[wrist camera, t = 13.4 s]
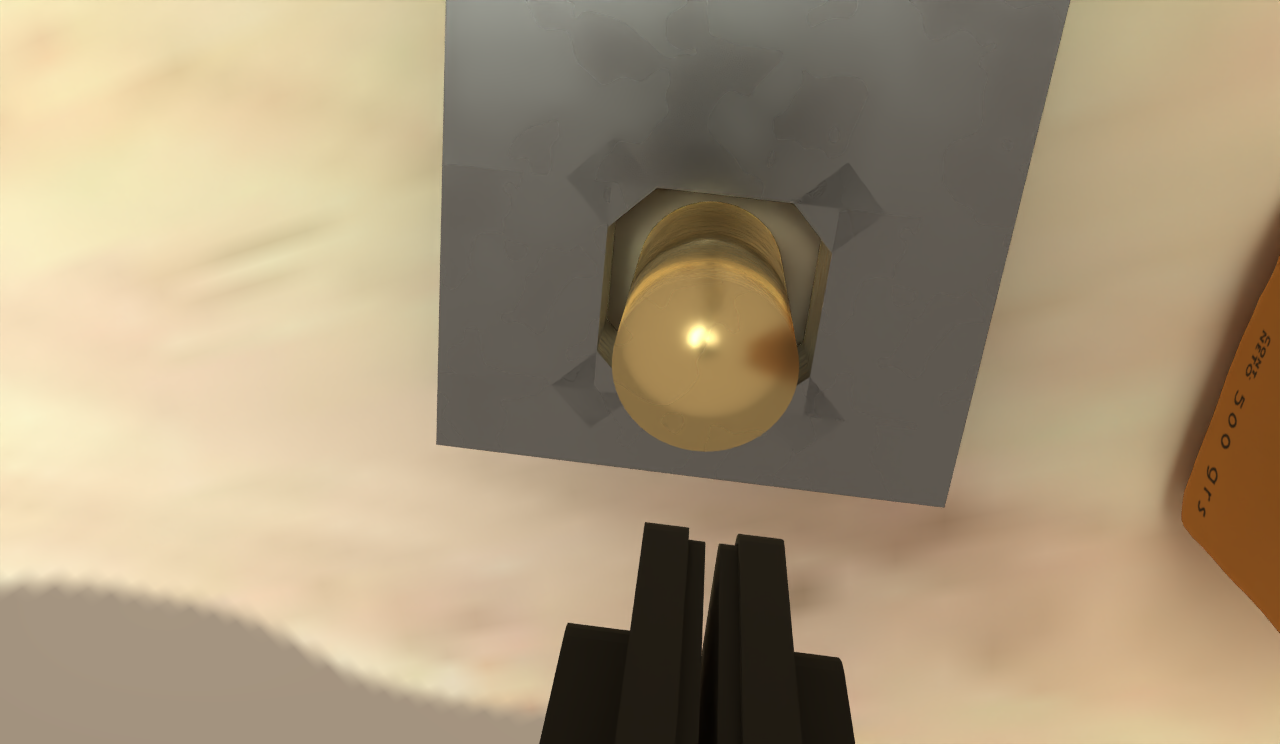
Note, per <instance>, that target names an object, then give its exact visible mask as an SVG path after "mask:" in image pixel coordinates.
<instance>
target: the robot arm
mask: <svg viewBox="0 0 1280 744" xmlns="http://www.w3.org/2000/svg"><path fill="white" fill-rule="evenodd" d="M688 539H689V528H687V527H679V526H671V525H663V524H655V523H647V522H645V526H644V533H643V540H642V547H641V555H640V562H639V569H638V577H637V584H636V591H635V599H634V606H633V613H632V621H631V628H630V631H627V630H619V629H612V628H604V627H596V626H588V625H581V624H573V623H568V624H567V626H566V630H565V634H564V638H563V642H562V646H561V651H560V655H559V660H558V664H557V668H556V673H555V677H554V682H553V686H552V690H551V695H550V699H549V704H548V708H547V712H546V717H545V721H544V726H543V730H542V734H541V739H540V743H539V744H855V739H854V733H853V726H852V720H851V713H850V707H849V700H848V694H847V687H846V681H845V674H844V669H843V665H842V661H841V660H840V659H839V658H837V657H830V656H822V655H814V654H806V653H799V652H794V647H793V636H792V625H791V613H790V602H789V591H788V580H787V569H786V558H785V546H784V541H783V540H782V539H775V538H767V537H759V536H751V535H743V534H738V535H737V539H736V543H735V546H734V545H726V544H719V546H718V551H717V558H716V564H715V571H714V577H713V584H712V590H711V597H710V603H709V610H708V616H707V623H706V630H705V636H704V643H703V649H702V626H703V598H704V570H705V542H702V541H694V540H688ZM701 654H702V656H701Z"/></svg>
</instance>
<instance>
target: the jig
mask: <svg viewBox="0 0 1280 744" xmlns="http://www.w3.org/2000/svg"><path fill="white" fill-rule="evenodd" d="M1069 3H1070V0H446V22H445V69H444V115H443V162H442V208H441V255H440V301H439V348H438V394H437V441H436V444H437V445H445V446H453V447H461V448H469V449H477V450H485V451H493V452H501V453H509V454H517V455H525V456H533V457H541V458H549V459H557V460H566V461H574V462H582V463H590V464H598V465H606V466H614V467H622V468H630V469H638V470H646V471H654V472H662V473H670V474H678V475H686V476H694V477H702V478H710V479H718V480H726V481H734V482H742V483H751V484H759V485H767V486H775V487H783V488H791V489H799V490H807V491H815V492H823V493H831V494H839V495H847V496H855V497H863V498H871V499H879V500H887V501H895V502H903V503H911V504H919V505H927V506H936V507H945V503H946V499H947V495H948V491H949V487H950V483H951V479H952V475H953V471H954V467H955V463H956V459H957V455H958V451H959V447H960V443H961V439H962V435H963V431H964V427H965V423H966V419H967V415H968V410H969V406H970V402H971V398H972V394H973V390H974V386H975V382H976V378H977V374H978V370H979V366H980V362H981V358H982V354H983V350H984V346H985V342H986V338H987V334H988V330H989V326H990V322H991V318H992V314H993V310H994V306H995V302H996V298H997V294H998V290H999V286H1000V281H1001V277H1002V273H1003V269H1004V265H1005V261H1006V257H1007V253H1008V249H1009V245H1010V241H1011V237H1012V233H1013V229H1014V225H1015V221H1016V217H1017V213H1018V209H1019V205H1020V201H1021V197H1022V193H1023V189H1024V185H1025V181H1026V177H1027V173H1028V169H1029V165H1030V161H1031V156H1032V152H1033V148H1034V144H1035V140H1036V136H1037V132H1038V128H1039V124H1040V120H1041V116H1042V112H1043V108H1044V104H1045V100H1046V96H1047V92H1048V88H1049V84H1050V80H1051V76H1052V72H1053V68H1054V64H1055V60H1056V56H1057V52H1058V48H1059V44H1060V40H1061V36H1062V31H1063V27H1064V23H1065V19H1066V15H1067V11H1068V7H1069ZM656 188H664V189H673V190H682V191H690V192H699V193H708V194H717V195H725V196H734V197H743V198H752V199H760V200H769V201H778V202H787V203H794V205H795V206H796V207H797V209H798V210H799V211H800V212H801V214H802V215H803V216H804V218H805V219H806V220H807V222H808V223H809V224H810V225H811V227H812V228H813V229H814V231H815V232H816V233H817V235H818V236H819V237H820V238H821V243H820V248H819V254H818V260H817V266H816V272H815V277H814V283H813V289H812V295H811V301H810V306H809V312H808V318H807V324H806V329H805V335H804V341H803V343H802V344H801V345H799V346H798V347H797V350H798V356H799V375H798V382H797V385H796V389H795V392H794V395H793V397H792V400H791V402H790V404H789V405H788V407H787V409H786V411H785V412H784V413H783V415H782V416H781V417H780V418H779V420H778V421H777V422H776V423H775V424H774V425H773V426H772V427H771V428H770V429H768V430H767V431H766V432H764V433H763V434H762V435H761V436H759V437H757V438H755V439H754V440H752V441H750V442H748V443H745V444H743V445H741V446H738V447H734V448H731V449H726V450H720V451H708V452H703V451H691V450H686V449H681V448H678V447H675V446H672V445H669V444H667V443H665V442H662V441H660V440H658V439H657V438H655V437H653V436H652V435H650V434H649V433H647V432H646V431H645V430H644V429H642V428H641V427H640V426H639V425H638V424H637V423H636V422H635V421H634V420H633V419H632V418H631V416H630V415H629V414H628V412H627V411H626V410H625V408H624V406H623V404H622V403H621V401H620V399H619V396H618V394H617V392H616V389H615V385H614V381H613V375H612V354H613V348H614V343H615V340H616V336H617V333H618V331H617V330H616V329H615V328H614V327H613V326H612V324H611V323H610V322H609V321H608V320H607V315H608V303H609V292H610V281H611V270H612V259H613V248H614V237H615V226H616V220H617V219H619V218H620V217H621V216H622V215H624V214H625V213H626V212H627V211H629V210H630V209H631V208H632V207H634V206H635V205H636V204H638V203H639V202H640V201H641V200H643V199H644V198H645V197H646V196H648V195H649V194H650V193H651V192H653V191H654V190H655V189H656Z"/></svg>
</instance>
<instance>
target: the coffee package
mask: <svg viewBox="0 0 1280 744" xmlns="http://www.w3.org/2000/svg"><path fill="white" fill-rule="evenodd" d="M1182 522H1183V525H1184V527H1185V528H1186V530H1187V531H1188V532H1189V533H1190V535H1191V536H1192V537H1193V538H1194V539H1195V540H1196V541H1197V542H1198V543H1199V544H1200V545H1201V546H1202V547H1203V548H1204V549H1205V550H1206V552H1207V553H1208V554H1209V555H1210V556H1211V557H1212V558H1213V559H1214V560H1215V562H1216V563H1217V564H1218V565H1219V566H1220V567H1221V569H1222V570H1223V571H1224V572H1225V573H1226V574H1227V575H1228V576H1229V578H1230V579H1231V580H1232V581H1233V582H1234V583H1235V584H1236V585H1237V586H1238V587H1239V588H1240V589H1241V590H1242V591H1243V592H1244V593H1245V594H1246V595H1247V596H1248V597H1249V598H1250V599H1251V600H1252V601H1253V602H1254V604H1255V605H1256V606H1257V607H1258V608H1259V609H1260V610H1261V611H1262V612H1263V613H1264V615H1265V616H1266V617H1267V618H1268V620H1269V621H1270V622H1271V623H1272V624H1273V626H1274V627H1275V628H1276V629H1277V631H1278V632H1279V633H1280V255H1279V258H1278V261H1277V264H1276V267H1275V269H1274V271H1273V274H1272V276H1271V278H1270V280H1269V282H1268V284H1267V285H1266V287H1265V289H1264V291H1263V293H1262V294H1261V296H1260V298H1259V300H1258V303H1257V305H1256V308H1255V310H1254V312H1253V315H1252V317H1251V319H1250V322H1249V324H1248V326H1247V328H1246V330H1245V332H1244V334H1243V336H1242V339H1241V341H1240V344H1239V346H1238V349H1237V352H1236V354H1235V357H1234V359H1233V362H1232V364H1231V367H1230V369H1229V372H1228V374H1227V377H1226V380H1225V383H1224V386H1223V389H1222V391H1221V394H1220V397H1219V400H1218V403H1217V406H1216V408H1215V411H1214V414H1213V417H1212V419H1211V422H1210V425H1209V427H1208V430H1207V432H1206V435H1205V437H1204V440H1203V442H1202V445H1201V447H1200V450H1199V453H1198V455H1197V458H1196V460H1195V463H1194V466H1193V469H1192V472H1191V475H1190V477H1189V480H1188V483H1187V485H1186V488H1185V491H1184V496H1183V504H1182Z"/></svg>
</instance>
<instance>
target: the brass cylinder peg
mask: <svg viewBox="0 0 1280 744" xmlns="http://www.w3.org/2000/svg"><path fill="white" fill-rule="evenodd" d="M612 375H613V381H614V385H615V389H616V392H617V394H618V396H619V399H620V401H621V403H622V404H623V406H624V408H625V410H626V411H627V412H628V414H629V415H630V416H631V418H632V419H633V420H634V421H635V422H636V423H637V424H638V425H639V426H640V427H641V428H642V429H644V430H645V431H646V432H647V433H649V434H650V435H652V436H653V437H655V438H657V439H658V440H660V441H662V442H665V443H667V444H669V445H672V446H675V447H678V448H681V449H686V450H691V451H703V452H708V451H720V450H726V449H731V448H734V447H738V446H741V445H743V444H745V443H748V442H750V441H752V440H754V439H755V438H757V437H759V436H761V435H762V434H763V433H764V432H766V431H767V430H768V429H770V428H771V427H772V426H773V425H774V424H775V423H776V422H777V421H778V420H779V418H780V417H781V416H782V415H783V413H784V412H785V411H786V409H787V407H788V405H789V404H790V402H791V400H792V397H793V395H794V392H795V389H796V385H797V382H798V375H799V356H798V350H797V344H796V339H795V333H794V327H793V322H792V316H791V311H790V305H789V299H788V294H787V288H786V282H785V277H784V271H783V265H782V260H781V254H780V251H779V248H778V245H777V243H776V241H775V239H774V237H773V236H772V234H771V233H770V231H769V230H768V228H767V227H766V226H765V225H764V224H763V223H762V222H761V221H760V220H759V219H758V218H757V217H755V216H754V215H753V214H751V213H749V212H748V211H746V210H744V209H742V208H740V207H738V206H735V205H732V204H728V203H723V202H713V201H707V202H698V203H693V204H689V205H686V206H683V207H681V208H679V209H677V210H675V211H673V212H671V213H670V214H668V215H667V216H665V217H664V218H663V219H662V220H661V221H660V222H658V223H657V225H656V226H655V227H654V228H653V229H652V231H651V232H650V234H649V235H648V237H647V238H646V240H645V242H644V245H643V247H642V250H641V253H640V256H639V260H638V263H637V267H636V270H635V274H634V277H633V281H632V284H631V288H630V291H629V295H628V298H627V302H626V305H625V309H624V312H623V316H622V319H621V322H620V326H619V329H618V333H617V336H616V340H615V343H614V348H613V354H612Z"/></svg>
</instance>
